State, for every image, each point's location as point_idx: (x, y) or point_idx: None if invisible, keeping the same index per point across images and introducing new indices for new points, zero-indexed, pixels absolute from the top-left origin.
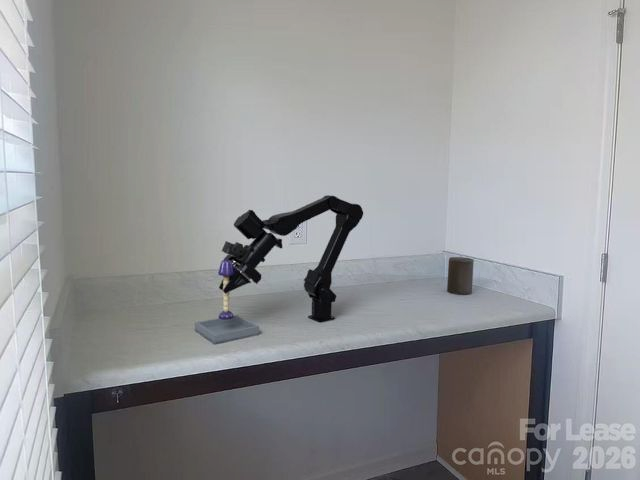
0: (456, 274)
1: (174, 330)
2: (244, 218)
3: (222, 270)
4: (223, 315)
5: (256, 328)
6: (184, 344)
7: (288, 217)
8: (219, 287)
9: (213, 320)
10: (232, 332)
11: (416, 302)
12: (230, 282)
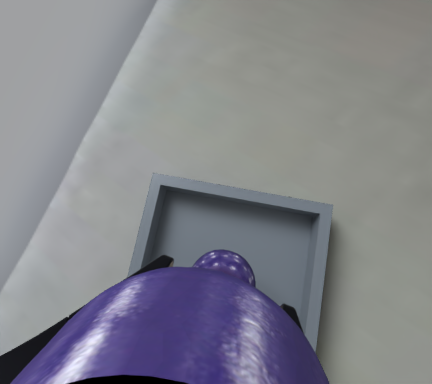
0: None
1: (373, 162)
2: None
3: (105, 304)
4: (206, 259)
5: None
6: (228, 119)
7: None
8: (281, 305)
9: (311, 279)
10: (137, 241)
11: None
12: (70, 316)
